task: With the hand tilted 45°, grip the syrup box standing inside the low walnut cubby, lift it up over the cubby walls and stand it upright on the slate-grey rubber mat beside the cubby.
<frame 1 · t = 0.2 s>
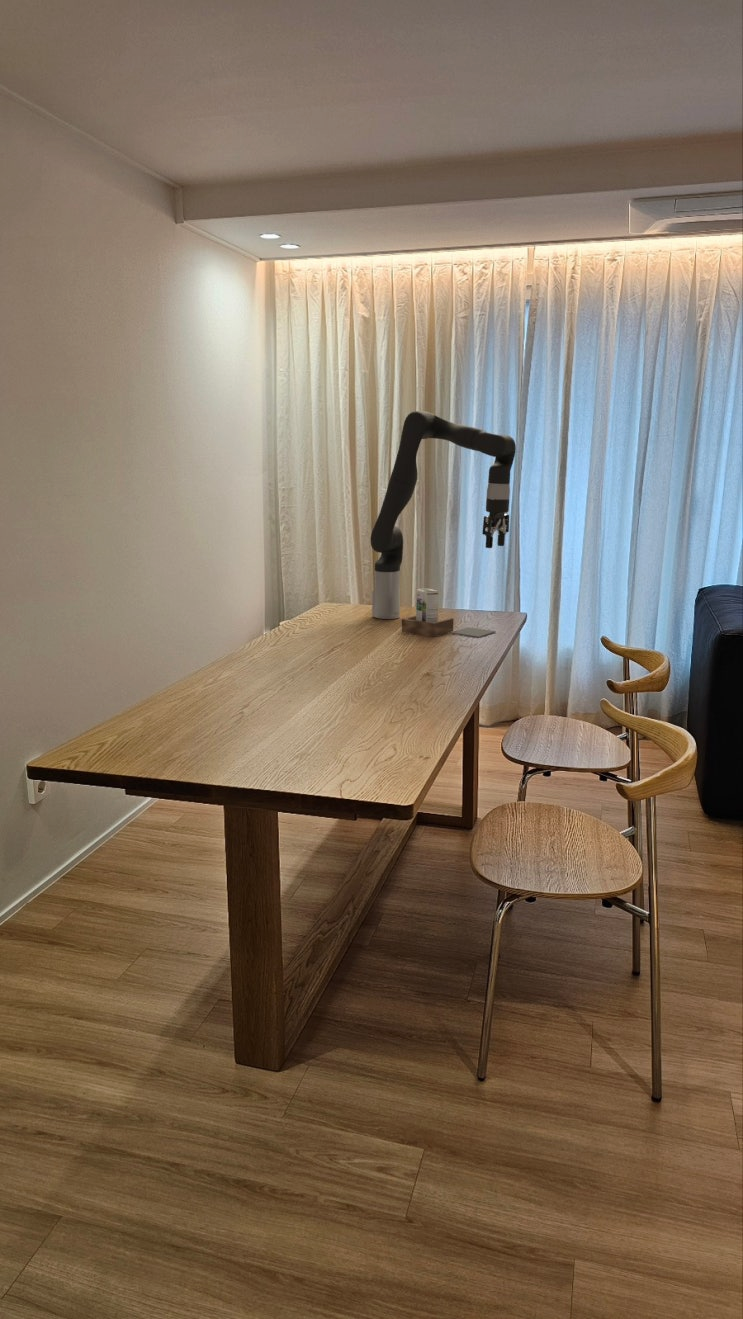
hand: (494, 546, 307), 29 cm above the table, tool pointing down, fingers open, 8 cm apart
walnut cubby: (427, 631, 314), on the table
grey mat: (473, 633, 312), on the table
syrup box: (426, 632, 314), resting in walnut cubby
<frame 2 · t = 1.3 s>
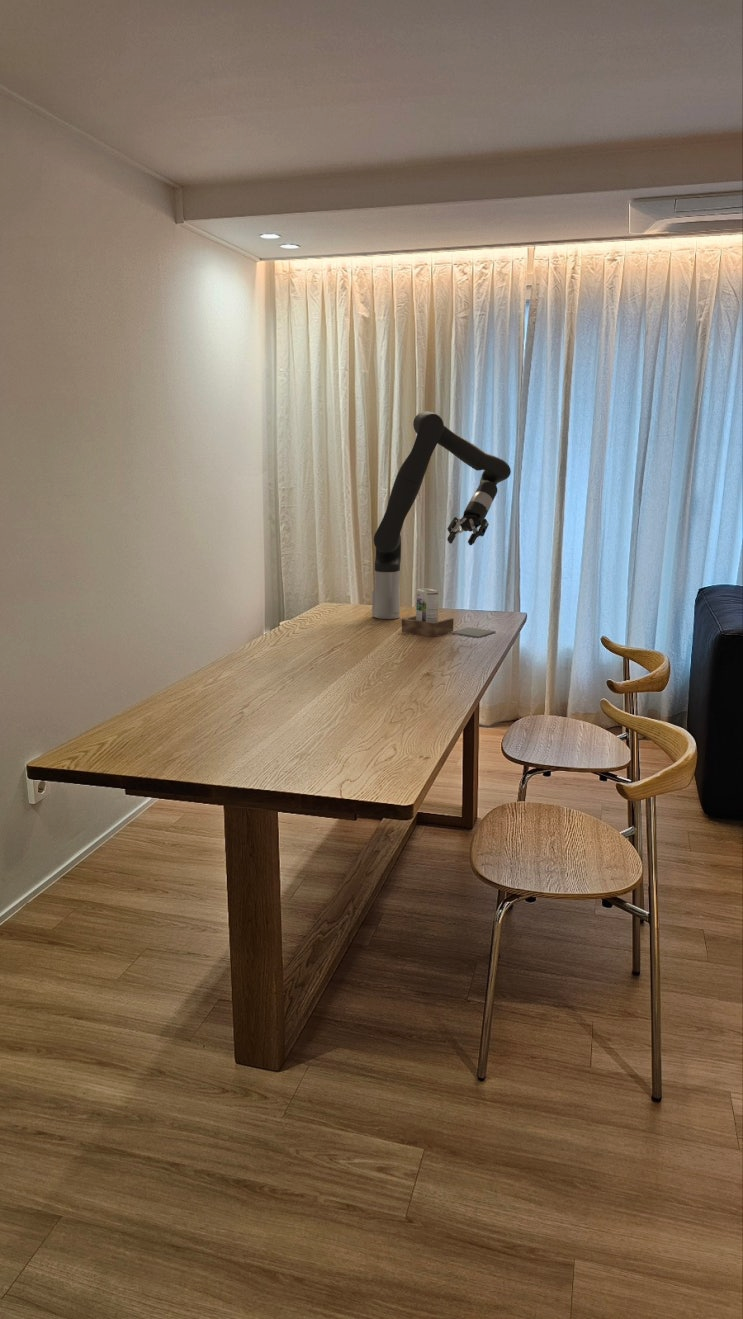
hand: (459, 543, 322), 28 cm above the table, tool tilted 45°, fingers open, 8 cm apart
nothing on the table moved.
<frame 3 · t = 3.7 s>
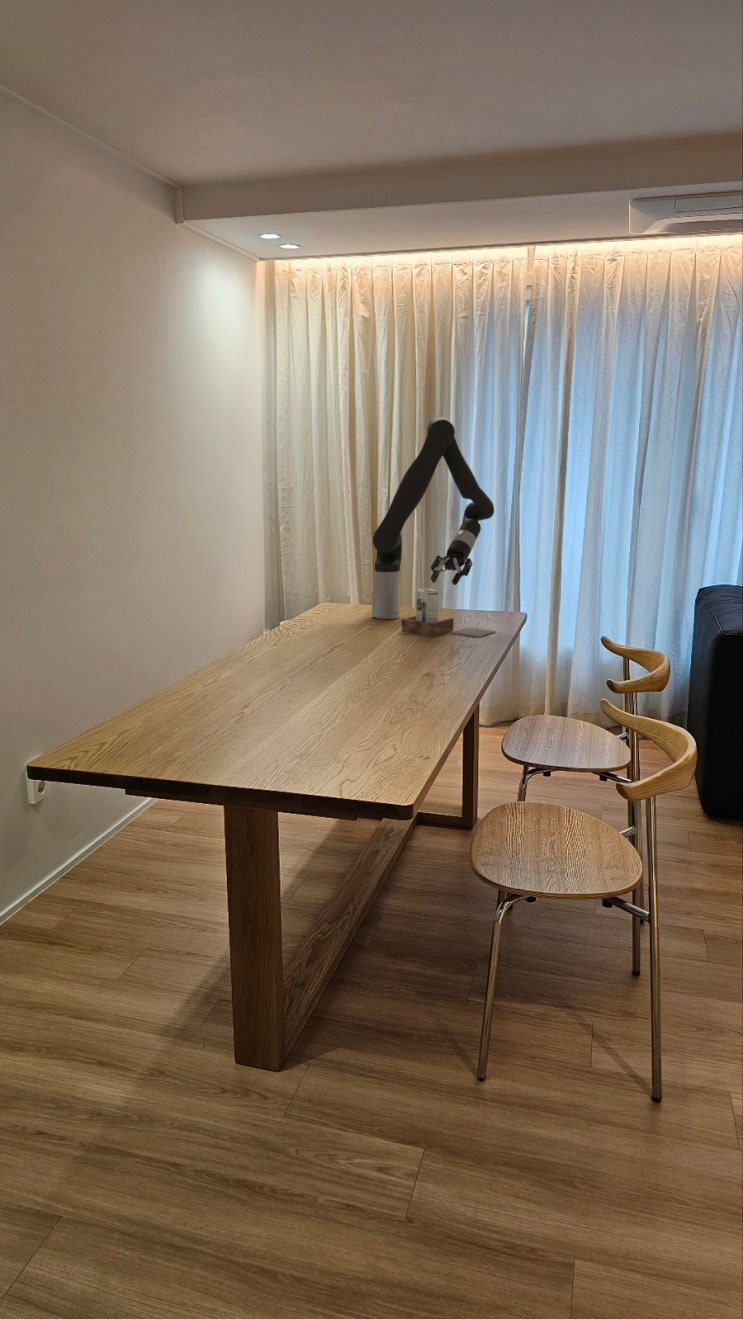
hand: (443, 582, 318), 16 cm above the table, tool tilted 45°, fingers open, 8 cm apart
nothing on the table moved.
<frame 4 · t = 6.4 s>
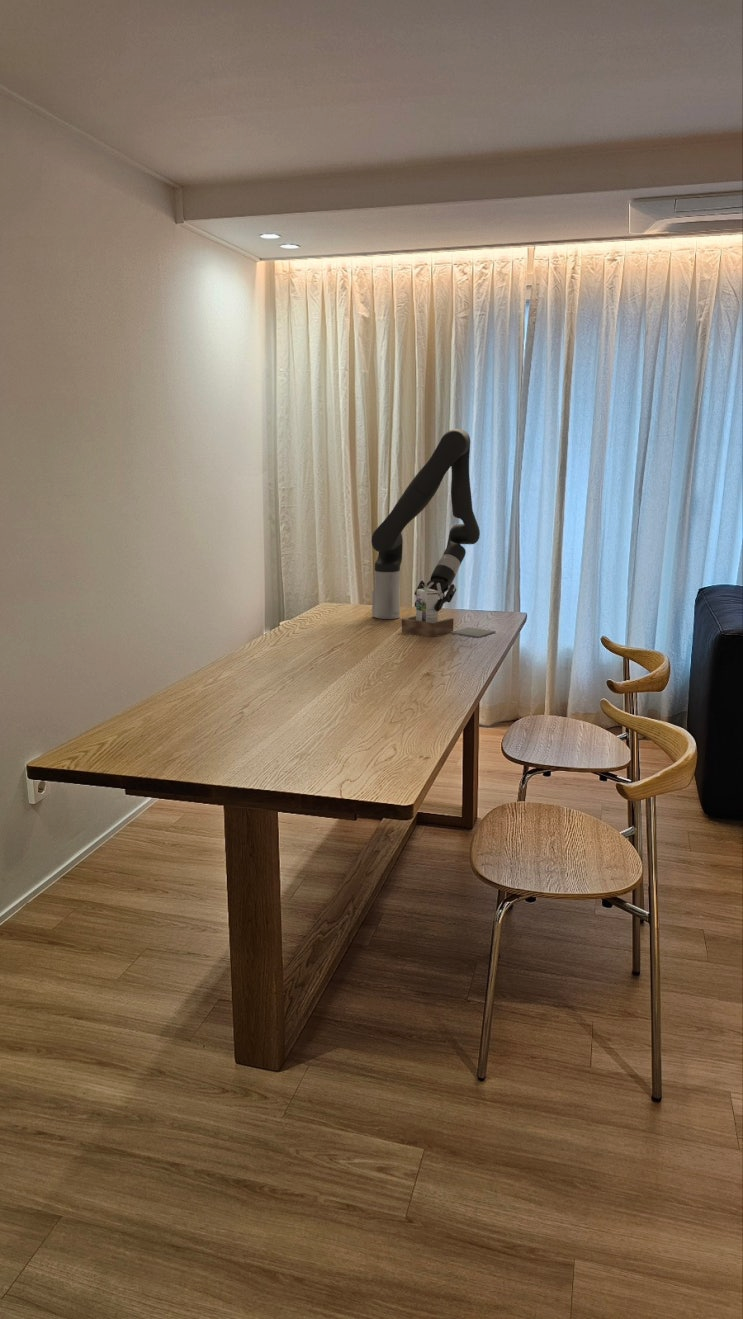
hand: (426, 608, 312), 8 cm above the table, tool tilted 45°, fingers closed on syrup box, 7 cm apart
syrup box: (426, 632, 314), resting in walnut cubby, touching gripper
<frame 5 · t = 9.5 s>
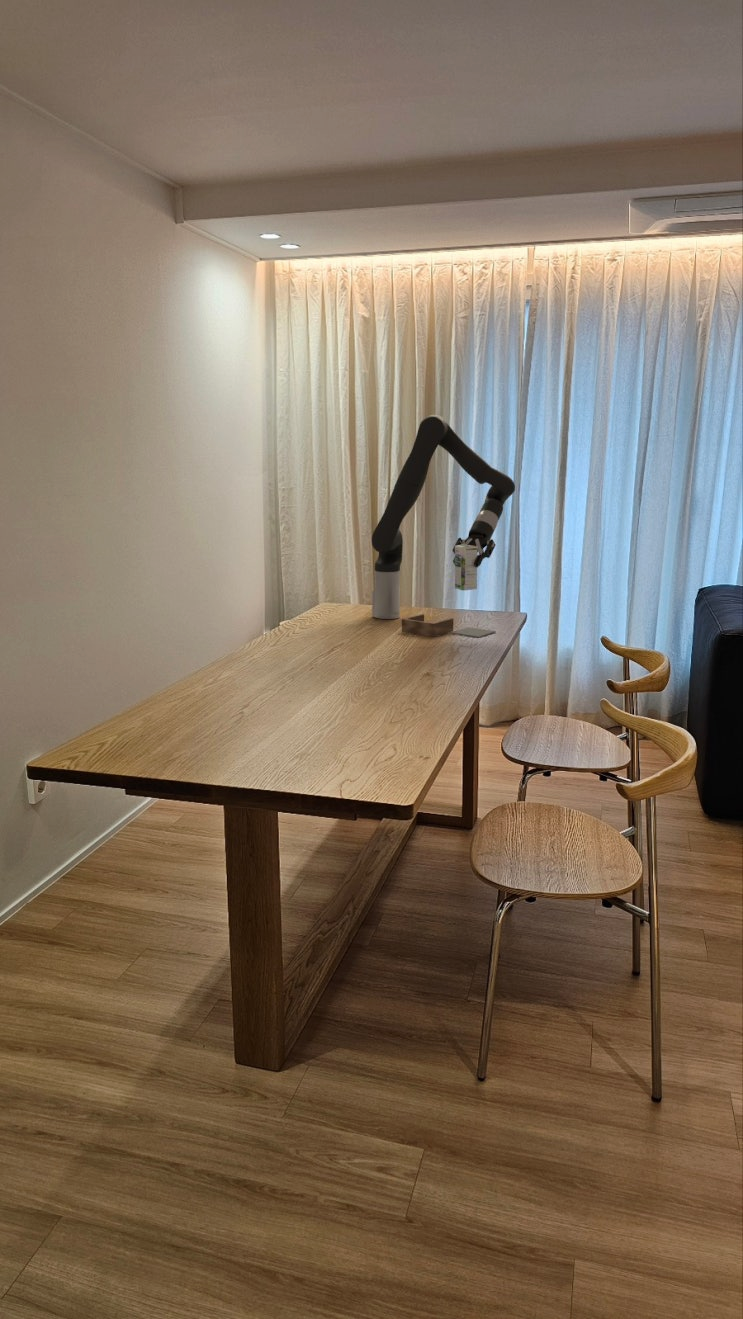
hand: (465, 565, 307), 23 cm above the table, tool tilted 45°, fingers closed on syrup box, 7 cm apart
syrup box: (465, 589, 309), point 15 cm above the table, touching gripper
when the fingers open (10 cm above the table, at t = 12.8 s): syrup box drops 1 cm, resting on grey mat.
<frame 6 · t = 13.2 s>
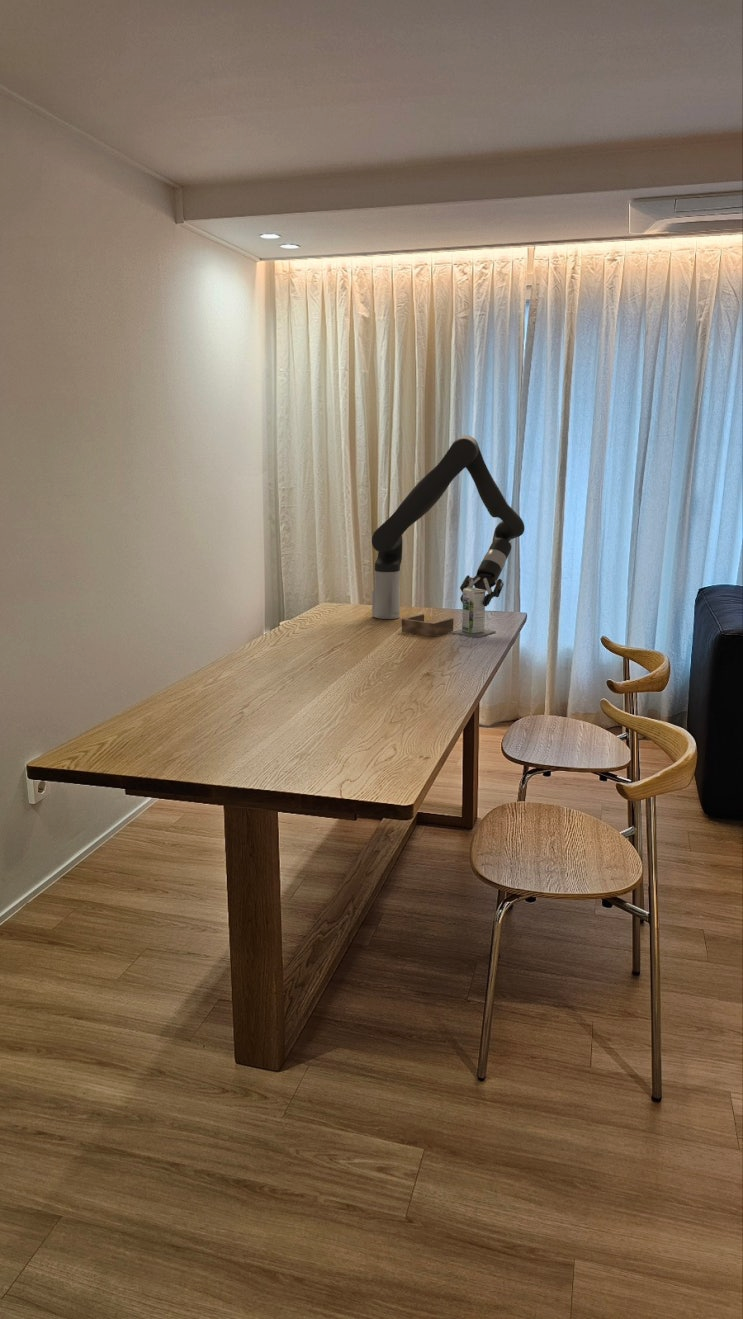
hand: (473, 603, 309), 10 cm above the table, tool tilted 45°, fingers open, 8 cm apart
syrup box: (473, 632, 312), resting on grey mat
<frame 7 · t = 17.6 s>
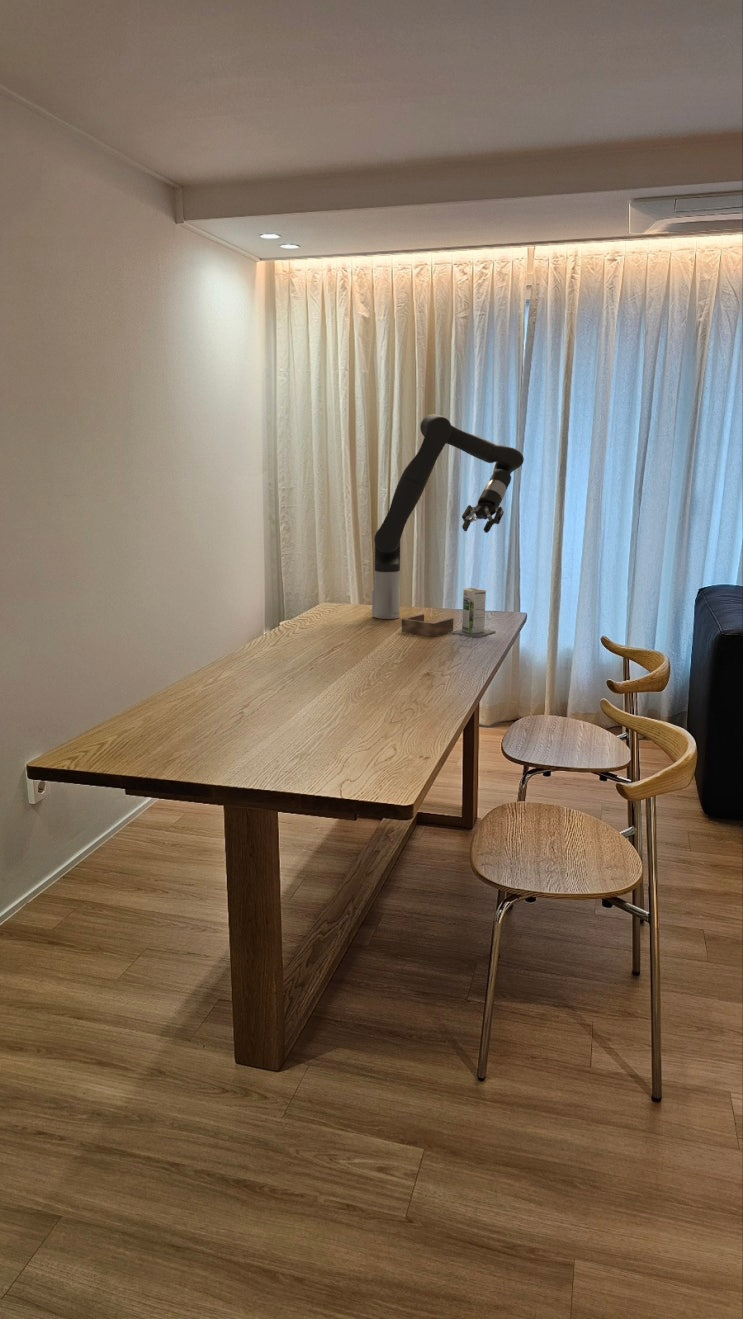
hand: (474, 530, 323), 33 cm above the table, tool tilted 45°, fingers open, 8 cm apart
nothing on the table moved.
at the end: syrup box inside the target area on the grey mat (0.2 cm from its centre), point 0.3 cm above the grey mat's base; syrup box tilted 0°; the gripper is holding nothing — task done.
